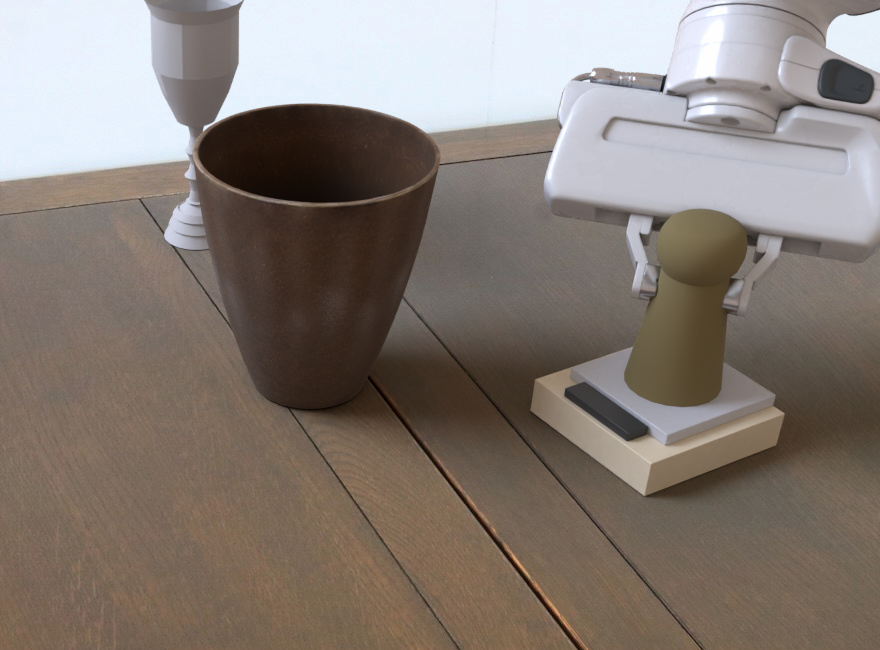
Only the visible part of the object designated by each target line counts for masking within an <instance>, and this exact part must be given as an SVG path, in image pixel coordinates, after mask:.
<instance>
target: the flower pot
mask: <svg viewBox="0 0 880 650" xmlns="http://www.w3.org/2000/svg"><path fill="white" fill-rule="evenodd" d="M192 153H193V161H194V168H195V175H196V182H197V189H198V195H199V201H200V207H201V213H202V219H203V224H204V228H205V233H206V238H207V243H208V247H209V249H208V251H209V255H210V259H211V264H212V268H213V271H214V275H215V279H216V282H217V285H218V290H219V293H220V296H221V300H222V304H223V307H224V310H225V313H226V316H227V318H228V319H227V320H228V322H229V324H230V329H231V330H232V334H233V336H234V339H235V342H236V344H237V347H238V349H239V352H240V355H241V357H242V360H243V362H244V365H245V368H246V369H247V371H248V374H249V376H250V378H251V381H252V383H253V384H254V387H255V389H256V391H258V392H259V394H260V395H262V396H263V397H265V398H266V399H267V400H269V401H271V402H273V403H276V404H279V405H281V406H284V407H289V408H295V409H302V410H303V409H305V410H316V409H317V410H318V409H319V410H320V409H326V408H332V407H334V406H339V405H342V404H344V403H346V402H349V401H350V400H352V399H354V398H355V397H356V396H357V395H358V394H360V392H361V391H362V389H363V387H364V385H365V383H366V382H367V381H368V378H369V376H370V374H371V372H372V370H373V367H374V366H375V364H376V361H377V359H378V357H379V355H380V354H381V351H382V349H383V346H384V344H385V342H386V340H387V337H388V335H389V333H390V330H391V328H392V327H393V326H392V325H393V323H394V321H395V318H396V316H397V313H398V311H399V308H400V305H401V303H402V299H403V297H404V294H405V292H406V289H407V286H408V283H409V280H410V277H411V274H412V271H413V268H414V265H415V262H416V259H417V257H418V252H419V249H420V245H421V242H422V238H423V235H424V231H425V227H426V224H427V220H428V216H429V215H428V214H429V211H430V208H431V203H432V199H433V193H434V191H435V190H434V189H435V185H436V181H437V177H438V172H439V168H440V164H441V151H440V149H439V146H438V144H437V143H436V142H435V140H434V138H433V137H431V136H430V135H429V134H428V133H427V132H426V131H424V130H423V129H421V128H420V127H418V126H416V125H414V124H413V123H411V122H409V121H408V120H404V119H402V118H399V117H397V116H394V115H392V114H388V113H385V112H381V111H377V110H373V109H369V108H364V107H360V106H359V107H358V106H352V105H345V104H335V103H318V102H317V103H315V102H314V103H312V102H311V103H287V104H285V103H284V104H277V105H269V106H262V107H258V108H253V109H252V108H251V109H248V110H244V111H241V112H237V113H234V114H231V115H229V116H227V117H225V118H222V119H220V120H218V121H216V122H215V123H214V122H213V123H212V124H210V125H209V126H208V127H207V128H206V129H203V132H202V133H201V134H200V136H199V137H198V138H197V140H196V141H195V144H194V146H193V150H192Z"/></svg>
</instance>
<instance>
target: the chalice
mask: <svg viewBox="0 0 880 650" xmlns="http://www.w3.org/2000/svg"><path fill="white" fill-rule="evenodd" d="M143 1H144V2H145V5H146V7H147V8H148V10H149V12H150V16H149V17H150V43H151V44H150V48H151V66H152V69H153V72H154V74H155V78H156V80H157V83H158V85H159V88H160V91H161V94H162V96H163V97H164V99H165V101H166V103H167V105H168V107H169V109H170V110H171V112H172V115H173V117H174V118H175V120H176V122H177V123H178V124H180V125H182V126H185V127H187V128H188V132H189V139H188V144H187V147H186V148H185V150H184V151H185V153H186V155H187V156H188V159H189V166H188V169H187V170H186V171H185V173H184V177H185V178H186V179H187V180H188V183H189V187H190V191H189V196H188V197H187V198H186V199H185V200H182V201H181V202H179V203H178V204H177V205H176V207H174V209H173V211H172V216H171V217H170V219H169V221H168V225H167V227H166V229H165V231H164V235H163V236H164V239H165V241H166V242H168V244H170V245H172V246H174V247H176V248H179V249H183V250H184V249H185V250H192V251H201V250H202V251H203V250H209V247H208V243H207V238H206V233H205V228H204V224H203V219H202V213H201V207H200V201H199V195H198V189H197V182H196V175H195V168H194V161H193V153H192V150H193V146H194V144H195V141H196V140H197V138H198V137H199V136H200V134H201V133H202V132H203V131H204V129H205V127H206V126H210V125H212V124H214V122H215V121H216V119H217V117H218V115H219V113H220V111H221V109H222V107H223V105H224V103H225V101H226V99H227V97H228V95H229V93H230V91H231V88H232V85H233V82H234V79H235V76H236V73H237V69H238V67H239V64H240V9H241V8H242V6H243V4H244V1H245V0H143Z"/></svg>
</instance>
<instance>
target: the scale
mask: <svg viewBox="0 0 880 650" xmlns="http://www.w3.org/2000/svg"><path fill="white" fill-rule="evenodd" d="M632 349H633V346H630V347H627V348H624V349H621V350H617V351H615V352H612V353H609V354H607V355H604V356H603V355H602V356H601V357H598V358H595V359H592V360H588V361H585V362H583V363H580V364H577V365H574V366H571V367H568V368H564V369H561V370H559V371H556V372H553V373H550V374H547V375H544V376H541V377H538V378H535V379H534V383H533V384H534V386H533V390H532V396H531V397H532V398H531V402H530V412H532V413H533V415H535V416H536V417H538V418H539V419H540V420H542V421H543V422H544V423H546V424H547V425H549V426H550V427H551V428H552V429H554V430H555V431H557V432H558V433H559V434H560V435H562V436H563V437H564V438H566V439H567V440H568V441H570V442H571V443H572V444H574V445H575V446H576V447H578V448H579V449H580V450H582V451H583V452H585V453H586V454H587V455H588V456H590V457H591V458H592V459H594V460H595V461H597V463H599V464H601V465H602V466H603V467H605V468H606V469H607V470H609V471H610V472H611V473H613V474H614V476H616V477H618V478H619V479H620V480H622V481H623V482H625V483H626V484H627V485H628V486H630V487H631V488H632V489H634V490H635V491H636V492H637V493H639V494H641V495H642V496H643V497H647V496H649V495H651V494H654V493H657V492H660V491H662V490H664V489H668V488H670V487H672V486H674V485H678V484H680V483H682V482H685V481H687V480H690V479H692V478H695V477H698V476H701V475H703V474H706V473H708V472H711V471H713V470H716V469H719V468H721V467H724V466H727V465H729V464H731V463H735V462H736V461H739V460H742V459H744V458H747V457H749V456H753V455H755V454H757V453H760V452H763V451H765V450H768V449H770V448H773V447H775V446H777V444H778V440H779V437H780V432H781V429H782V426H783V422H784V418H785V415H786V414H785V412H783V411H782V410H780V409H778V408H777V407H775V406H774V404H775V401H776V396H777V395H776V394H775V393H773V392H772V391H770V390H769V389H767V388H765V387H764V386H762V384H761V385H760V384H759V383H757V382H756V381H755V380H753V379H751V378H750V377H748V376H747V375H745V374H743V373H742V372H740V371H738V370H737V369H735V368H734V367H733V366H731V365H729V364H728V363H726V362H723V374H722V386H721V391H720V393H719V394H718V396H717V397H716V398H715V399H713V400H712V401H710V402H708V403H705V404H702V405H698V406H690V407H676V406H666V405H662V404H658V403H654V402H651V401H649V400H647V399H644V398H642V397H640V396H638V395H637V394H636V393H634V392H633V391H632V390H631V389H629V387H628V386H627V384H626V382H625V381H624V372H625V369H626V366H627V363H628V360H629V357H630V354H631V352H632Z"/></svg>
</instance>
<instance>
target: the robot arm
mask: <svg viewBox="0 0 880 650" xmlns="http://www.w3.org/2000/svg"><path fill="white" fill-rule="evenodd" d="M879 11H880V0H689V3H688V4H687V6H686V8H685V10H684V12H683V13H682V16H681V18H680V20H679V22H678V26H677V29H676V35H675V38H674V43H673V46H672V51H671V56H670V60H669V64H668V67H667V73H666V74H665V75H663V74H656V73H648V72H640V71H638V72H637V71H636V72H633V71H631V72H630V71H627V72H626V71H619V70H615V69H614V68H610V67H594V68H592V70H591V72H586V73H581V74H577V76H575V77H573V78H571V80H570V81H568V82H567V84H566V85H565V86H564V88H563V91H562V92H561V96H560V100H559V105H558V109H557V113H556V114H557V115H556V120H557V125H558V128H559V129H560V131H559V134H558V136H557V139H556V142H555V145H554V147H553V150H552V153H551V156H550V159H549V161H548V166H547V168H546V172H545V176H544V180H543V197H544V200H545V203H546V205H547V206H548V208H549V210H550V212H551V213H552V214H553V215H554V216H557V217H561V218H566V219H573V220H581V221H586V222H591V223H592V222H593V223H599V224H604V225H611V226H617V227H624V228H626V235H625V245H626V248H627V251H628V253H629V257H630V260H631V262H632V265H633V269H634V272H635V273H634V278H633V281H632V286H631V292H630V293H631V294H630V297H631V298H630V299H636V300H641V301H646V302H647V301H648V302H649V301H650V300H651V299H652V298H654V297H655V295H656V291H657V286H658V283H657V281H658V279H659V276H660V271H661V266H660V265H655V264H650V263H649V262H650V261H649V260H648V257H647V253H646V250H645V247H649V245H650V242H651V238H652V234H653V232H655V233H659V232H660V230H661V228H662V226H663V225H664V223H665V222H666V221H667V220H668V219H669V218H670V217H671V216H672V215H674V214H676V213H678V212H681V211H685V210H689V209H711V210H715V211H720V212H723V213H725V214H728V215H730V216H731V217H733V218H734V219H736V220H737V221H739V222H740V223H741V225H742V226H743V227H744V230H745V232H746V236H747V247H751V248H755V249H754V253H753V259H752V263H753V264H754V266H753V267H752V268H751V269H750V270H749V271H748V272H747V273H746V274H745V275H744V277H743V278H735V277H731V278H730V282H729V286H728V290H727V293H726V295H725V297H724V299H723V303H722V307H723V309H724V310H725V311H726V314H728V315H730V316H731V315H732V316H736V317H743V318H746V313H747V309H748V305H749V301H750V297H751V294H752V291H754V290H755V289H756V288H757V287H758V286H759V285H760V284H761V283H762V282H763V281H764V280H765V279H766V278H768V276H769V275H770V273H771V272H772V271H774V269H775V268H776V266H777V263H778V259H779V258H780V257H779V256H780V254H781V253H780V252H783V253H790V254H795V255H801V256H809V257H815V258H821V259H826V260H827V259H828V260H834V261H840V262H847V263H851V264H852V263H853V264H862V263H865V262H866V261H867V260H868V259H870V258H871V257H873V256H874V255H875V254H876V253H877V252H878V251H879V250H880V72H878V71H875V70H874V69H872V68H869V67H866V66H864V65H862V64H860V63H858V62H855V61H853V60H851V59H849V58H847V57H845V56H842V55H841V54H839V53H838V52H837V53H836V52H835V51H832V50H831V49H829V48H827V33H828V29H829V27H830V25H831V24H832V22H833V21H834V20H835V19H837V18H839V17H840V16H843V15H847V16H850V17H857V16H862V15H867V14H872V13H874V12H879Z"/></svg>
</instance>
